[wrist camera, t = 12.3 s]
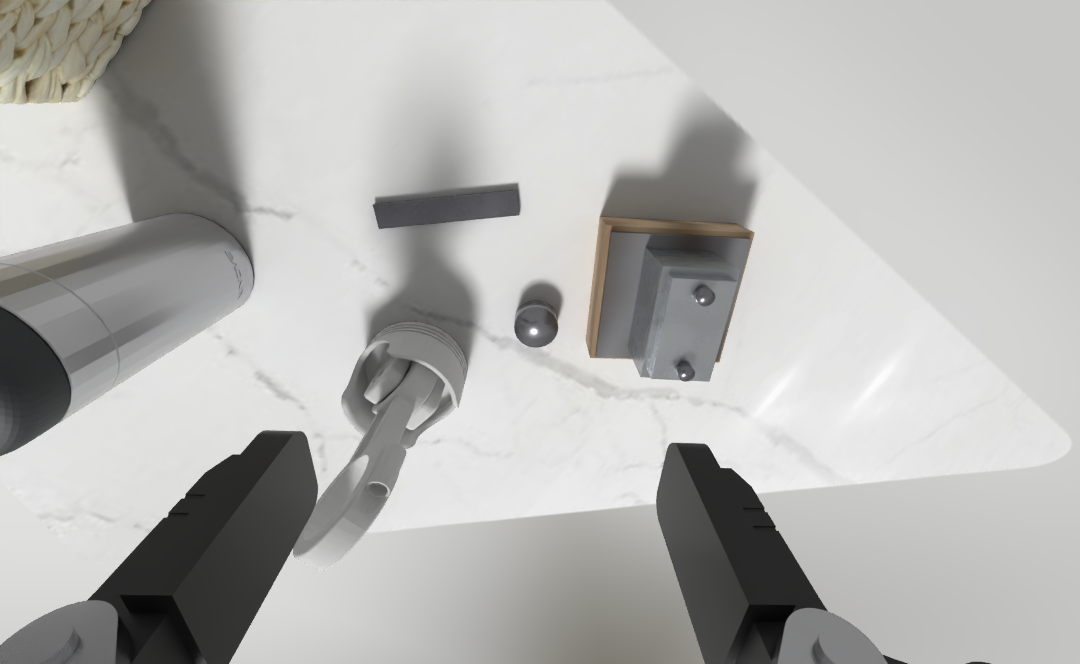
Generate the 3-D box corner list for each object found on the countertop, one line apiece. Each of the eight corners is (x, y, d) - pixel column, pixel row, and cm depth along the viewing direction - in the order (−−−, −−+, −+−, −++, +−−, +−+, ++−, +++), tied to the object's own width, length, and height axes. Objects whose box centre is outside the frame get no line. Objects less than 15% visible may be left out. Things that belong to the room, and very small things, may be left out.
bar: (382, 226, 38) (379, 228, 37) (376, 202, 37) (372, 204, 36) (519, 213, 37) (519, 215, 36) (516, 188, 36) (516, 190, 35)
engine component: (487, 367, 43) (409, 301, 40) (457, 548, 25) (308, 453, 22) (417, 428, 47) (340, 370, 43) (345, 627, 28) (200, 555, 25)
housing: (645, 247, 34) (670, 274, 28) (712, 251, 34) (752, 279, 28) (627, 347, 38) (646, 389, 32) (688, 350, 38) (718, 393, 32)
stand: (585, 340, 42) (591, 361, 39) (599, 216, 37) (607, 226, 33) (705, 345, 43) (721, 365, 39) (736, 223, 38) (758, 234, 34)
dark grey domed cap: (514, 337, 42) (514, 347, 40) (515, 299, 40) (514, 307, 39) (555, 338, 42) (556, 347, 40) (557, 300, 41) (559, 308, 39)
